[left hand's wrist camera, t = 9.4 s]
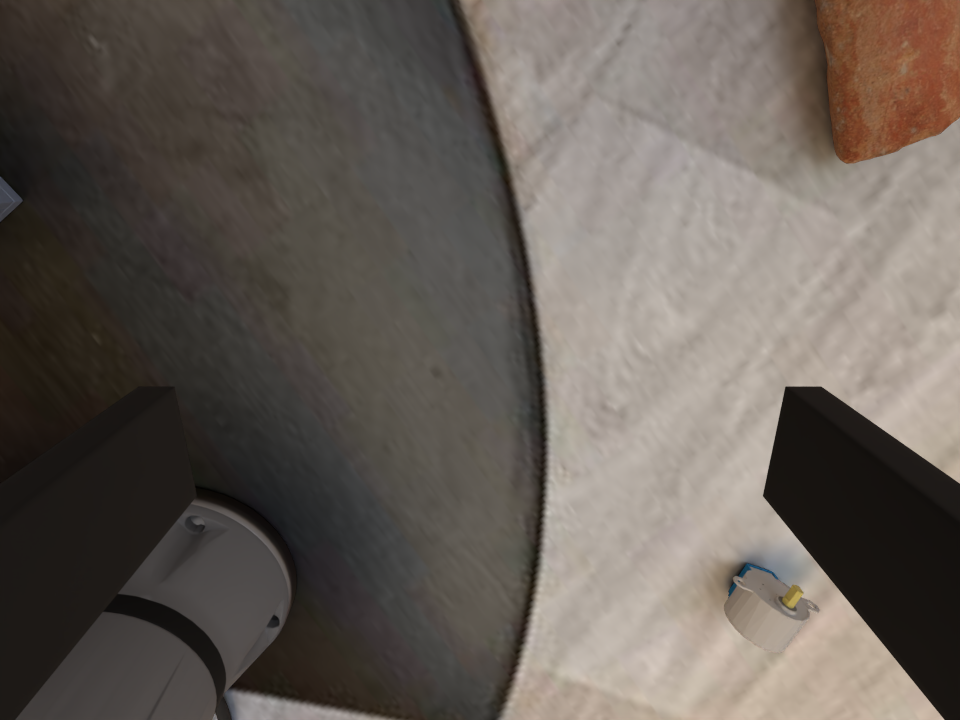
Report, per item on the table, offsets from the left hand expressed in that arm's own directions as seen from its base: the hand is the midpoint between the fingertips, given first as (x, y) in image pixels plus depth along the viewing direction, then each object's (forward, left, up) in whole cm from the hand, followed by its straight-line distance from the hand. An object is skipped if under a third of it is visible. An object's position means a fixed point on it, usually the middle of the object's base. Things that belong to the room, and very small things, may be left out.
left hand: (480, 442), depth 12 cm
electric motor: (+28, +15, -24) cm, 40 cm away
